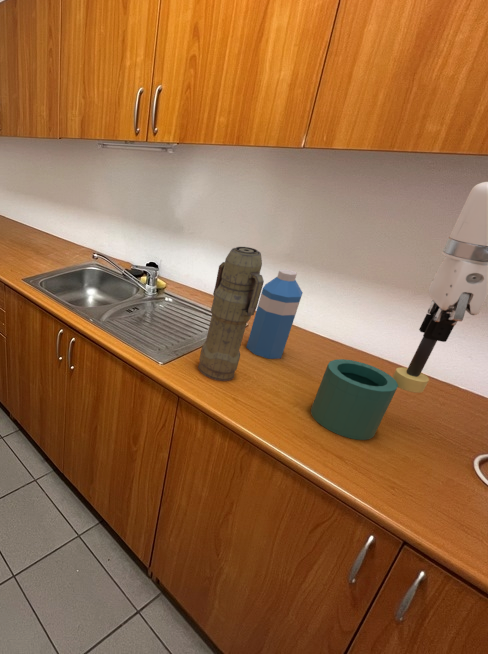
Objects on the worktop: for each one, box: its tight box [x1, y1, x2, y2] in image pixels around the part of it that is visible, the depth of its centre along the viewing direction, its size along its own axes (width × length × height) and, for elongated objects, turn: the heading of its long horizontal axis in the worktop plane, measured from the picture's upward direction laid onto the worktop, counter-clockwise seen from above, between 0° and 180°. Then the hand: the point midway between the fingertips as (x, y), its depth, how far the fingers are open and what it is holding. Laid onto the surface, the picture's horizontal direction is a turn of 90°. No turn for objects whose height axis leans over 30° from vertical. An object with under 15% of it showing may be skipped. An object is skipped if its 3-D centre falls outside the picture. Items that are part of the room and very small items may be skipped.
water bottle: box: [245, 268, 303, 360], centre depth 112 cm, size 9×9×25 cm
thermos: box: [197, 246, 265, 382], centre depth 101 cm, size 9×12×35 cm
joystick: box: [391, 312, 446, 394], centre depth 81 cm, size 5×5×18 cm
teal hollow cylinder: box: [310, 358, 399, 441], centre depth 87 cm, size 11×11×13 cm
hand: (432, 335), depth 80 cm, fingers closed on joystick
